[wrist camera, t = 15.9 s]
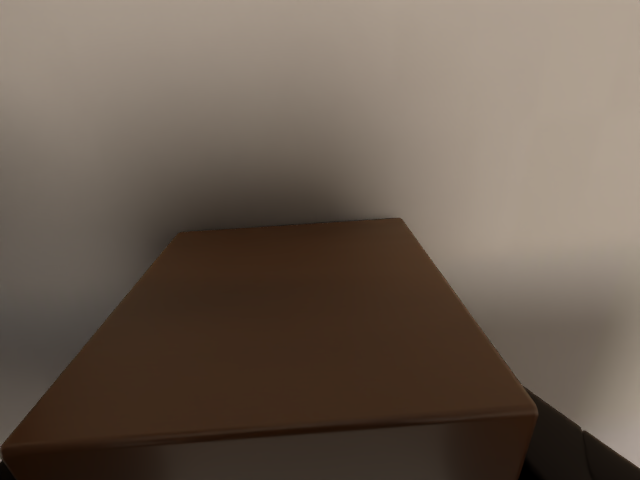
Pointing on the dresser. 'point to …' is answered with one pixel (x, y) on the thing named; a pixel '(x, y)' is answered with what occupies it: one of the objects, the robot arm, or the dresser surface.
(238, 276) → the block
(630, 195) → the dresser surface
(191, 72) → the dresser surface
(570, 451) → the robot arm
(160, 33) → the dresser surface
